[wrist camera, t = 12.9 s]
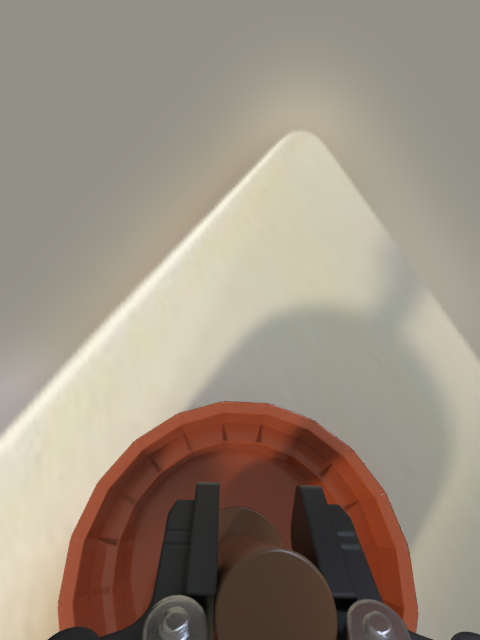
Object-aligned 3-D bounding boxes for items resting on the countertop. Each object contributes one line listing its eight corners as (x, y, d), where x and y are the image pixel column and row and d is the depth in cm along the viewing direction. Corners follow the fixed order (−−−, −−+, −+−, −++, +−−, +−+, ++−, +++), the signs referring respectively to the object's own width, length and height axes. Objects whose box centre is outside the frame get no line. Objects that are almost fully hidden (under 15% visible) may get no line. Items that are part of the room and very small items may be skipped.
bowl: (355, 429, 24) (388, 408, 19) (390, 754, 17) (451, 834, 13) (119, 419, 23) (97, 395, 19) (63, 754, 17) (11, 838, 12)
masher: (281, 508, 21) (382, 487, 9) (284, 621, 19) (422, 801, 7) (191, 505, 21) (165, 480, 9) (182, 619, 18) (131, 802, 6)
